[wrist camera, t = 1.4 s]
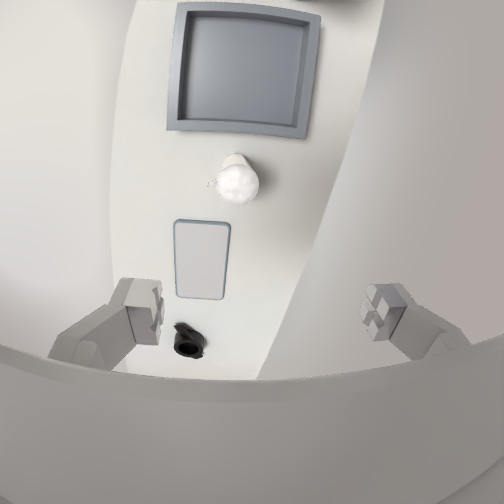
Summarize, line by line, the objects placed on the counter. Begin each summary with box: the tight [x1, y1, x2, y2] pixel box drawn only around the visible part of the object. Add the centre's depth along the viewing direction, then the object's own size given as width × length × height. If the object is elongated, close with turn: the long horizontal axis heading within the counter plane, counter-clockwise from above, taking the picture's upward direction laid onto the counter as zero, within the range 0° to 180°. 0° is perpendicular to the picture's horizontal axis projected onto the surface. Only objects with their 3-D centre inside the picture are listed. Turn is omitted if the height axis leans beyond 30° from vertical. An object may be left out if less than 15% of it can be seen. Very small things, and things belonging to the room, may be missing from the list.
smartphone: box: [173, 219, 230, 300], centre depth 44 cm, size 8×1×15 cm
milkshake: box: [207, 154, 259, 205], centre depth 31 cm, size 4×5×10 cm
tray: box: [167, 2, 321, 139], centre depth 27 cm, size 16×16×4 cm
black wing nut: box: [174, 325, 204, 359], centre depth 52 cm, size 8×10×3 cm
